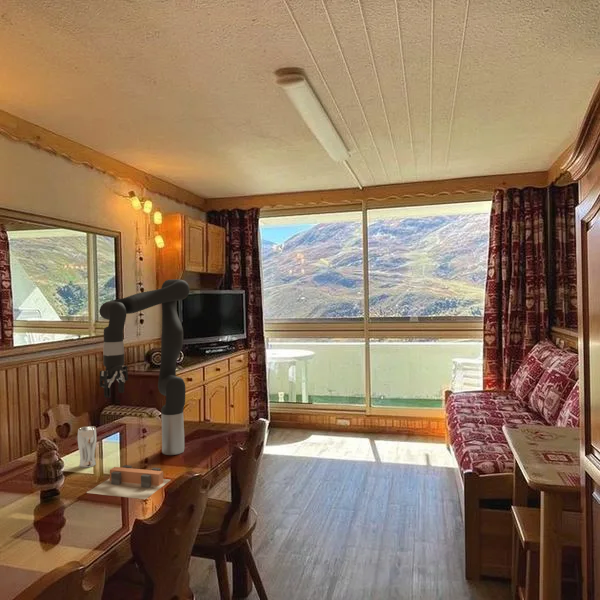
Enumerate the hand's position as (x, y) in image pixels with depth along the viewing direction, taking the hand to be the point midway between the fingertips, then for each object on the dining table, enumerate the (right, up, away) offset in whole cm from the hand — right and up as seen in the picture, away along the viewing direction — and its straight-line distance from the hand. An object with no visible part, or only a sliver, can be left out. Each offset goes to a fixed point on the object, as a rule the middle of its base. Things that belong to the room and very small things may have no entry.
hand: (114, 395), depth 182 cm
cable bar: (+13, -29, -12) cm, 34 cm away
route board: (+12, -30, -16) cm, 36 cm away
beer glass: (-14, -30, +8) cm, 34 cm away
